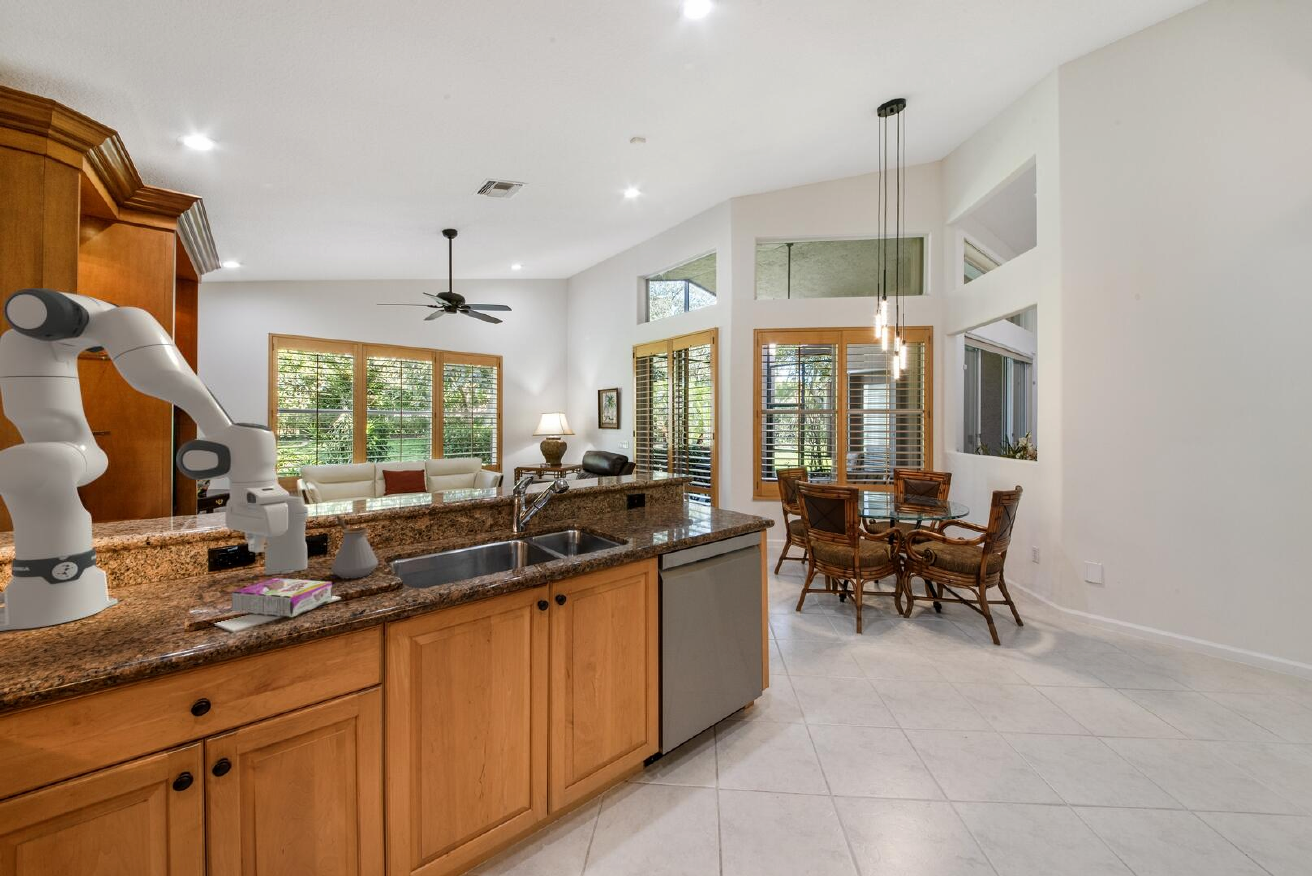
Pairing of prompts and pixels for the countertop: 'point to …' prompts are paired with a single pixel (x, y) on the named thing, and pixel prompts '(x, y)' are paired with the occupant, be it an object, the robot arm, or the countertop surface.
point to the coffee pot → (354, 554)
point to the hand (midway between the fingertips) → (256, 551)
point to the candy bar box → (282, 597)
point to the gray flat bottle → (289, 542)
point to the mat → (251, 620)
